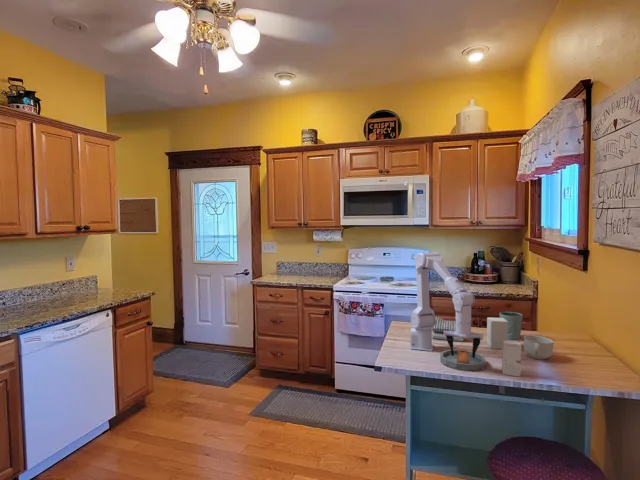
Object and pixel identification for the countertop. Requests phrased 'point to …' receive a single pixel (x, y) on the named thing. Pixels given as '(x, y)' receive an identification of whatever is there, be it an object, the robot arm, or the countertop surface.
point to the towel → (444, 329)
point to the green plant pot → (513, 324)
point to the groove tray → (451, 362)
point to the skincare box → (511, 357)
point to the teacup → (538, 346)
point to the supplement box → (496, 332)
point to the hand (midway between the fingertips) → (462, 355)
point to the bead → (462, 356)
